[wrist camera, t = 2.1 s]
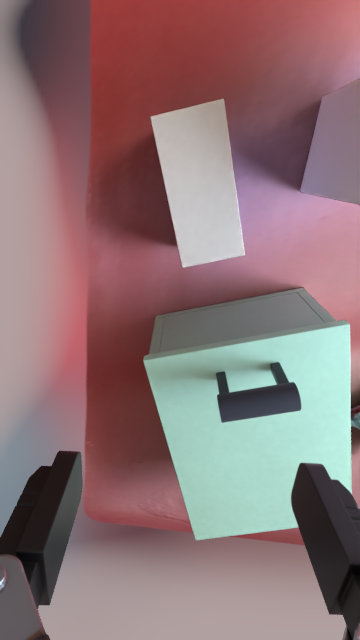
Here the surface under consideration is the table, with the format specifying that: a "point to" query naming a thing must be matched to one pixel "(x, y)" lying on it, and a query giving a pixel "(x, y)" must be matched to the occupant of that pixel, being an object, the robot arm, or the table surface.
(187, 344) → the box
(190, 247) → the snack box
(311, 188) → the milk carton
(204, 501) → the lid
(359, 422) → the packaged food
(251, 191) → the table surface
